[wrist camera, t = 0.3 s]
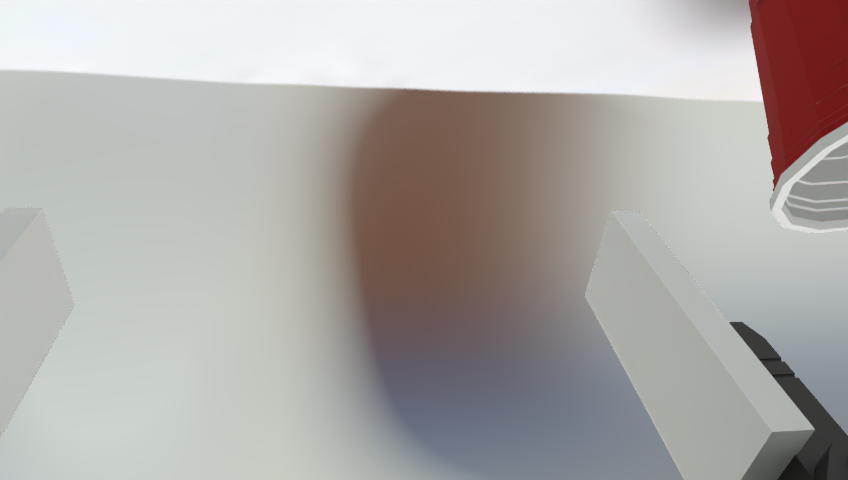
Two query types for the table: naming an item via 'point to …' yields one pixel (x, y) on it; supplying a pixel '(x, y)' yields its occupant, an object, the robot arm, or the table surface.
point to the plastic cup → (805, 108)
